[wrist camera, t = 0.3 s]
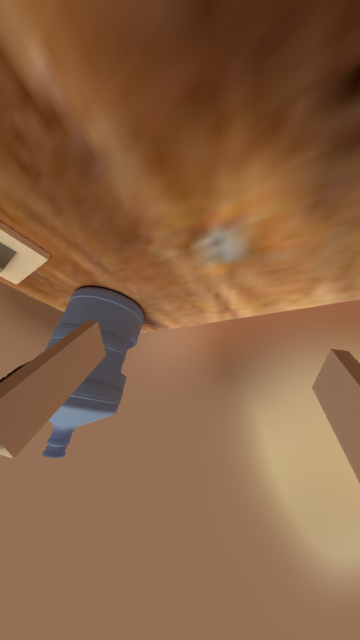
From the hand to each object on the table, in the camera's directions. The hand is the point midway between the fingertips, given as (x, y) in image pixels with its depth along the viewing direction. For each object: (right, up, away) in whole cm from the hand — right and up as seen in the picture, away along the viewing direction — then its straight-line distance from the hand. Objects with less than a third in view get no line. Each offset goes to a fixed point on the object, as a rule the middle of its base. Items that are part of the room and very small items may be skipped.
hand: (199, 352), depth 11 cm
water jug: (-17, +5, +31) cm, 36 cm away
